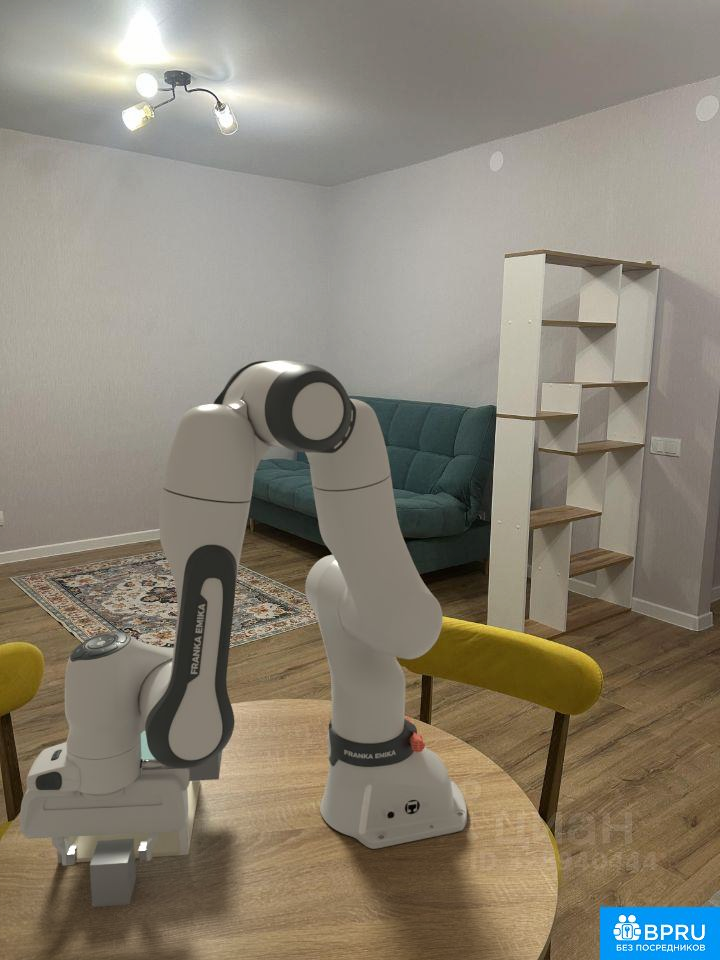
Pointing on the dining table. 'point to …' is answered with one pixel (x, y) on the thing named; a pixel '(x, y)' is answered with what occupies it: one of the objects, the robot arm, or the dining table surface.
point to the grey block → (113, 872)
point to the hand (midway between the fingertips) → (108, 860)
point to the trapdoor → (197, 773)
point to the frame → (145, 836)
